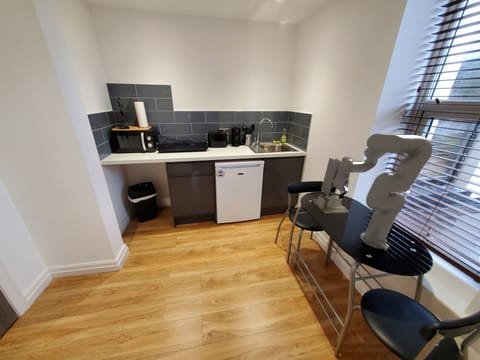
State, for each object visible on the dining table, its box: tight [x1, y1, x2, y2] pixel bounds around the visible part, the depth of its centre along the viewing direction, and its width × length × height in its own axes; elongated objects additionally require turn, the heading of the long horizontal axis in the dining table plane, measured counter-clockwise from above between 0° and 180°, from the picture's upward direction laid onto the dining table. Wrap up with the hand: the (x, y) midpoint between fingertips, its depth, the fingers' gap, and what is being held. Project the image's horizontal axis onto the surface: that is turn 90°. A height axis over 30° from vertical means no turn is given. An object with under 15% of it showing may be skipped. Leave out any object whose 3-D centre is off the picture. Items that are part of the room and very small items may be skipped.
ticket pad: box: [317, 193, 334, 209], centre depth 139 cm, size 10×9×7 cm
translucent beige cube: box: [329, 195, 343, 207], centre depth 141 cm, size 6×6×6 cm
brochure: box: [321, 157, 342, 196], centre depth 156 cm, size 14×6×30 cm, turn 179°
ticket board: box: [311, 198, 350, 215], centre depth 141 cm, size 19×19×1 cm
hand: (336, 195), depth 139 cm, fingers open, 9 cm apart
